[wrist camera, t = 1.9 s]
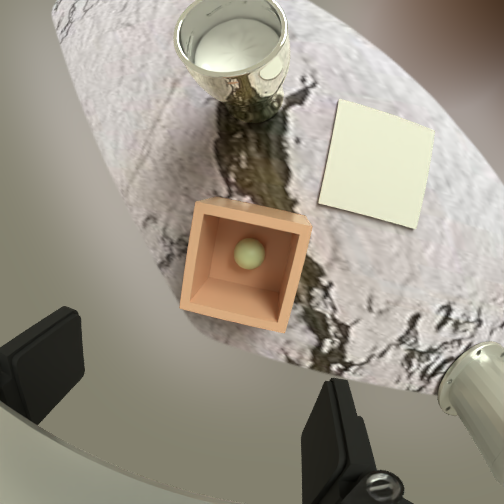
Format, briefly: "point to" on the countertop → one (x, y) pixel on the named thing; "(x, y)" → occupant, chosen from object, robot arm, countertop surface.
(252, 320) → the open box
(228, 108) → the beer glass
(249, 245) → the sage ball
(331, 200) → the plain cream tile
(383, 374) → the countertop surface
